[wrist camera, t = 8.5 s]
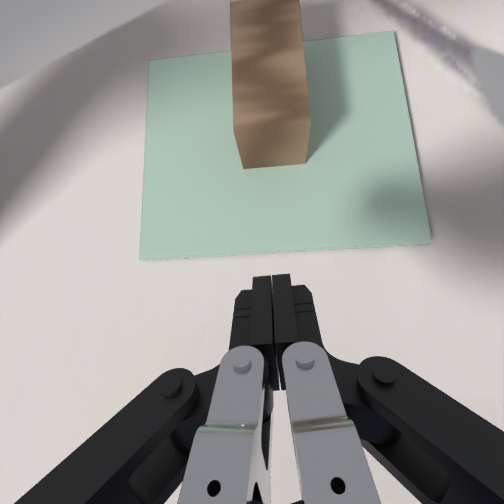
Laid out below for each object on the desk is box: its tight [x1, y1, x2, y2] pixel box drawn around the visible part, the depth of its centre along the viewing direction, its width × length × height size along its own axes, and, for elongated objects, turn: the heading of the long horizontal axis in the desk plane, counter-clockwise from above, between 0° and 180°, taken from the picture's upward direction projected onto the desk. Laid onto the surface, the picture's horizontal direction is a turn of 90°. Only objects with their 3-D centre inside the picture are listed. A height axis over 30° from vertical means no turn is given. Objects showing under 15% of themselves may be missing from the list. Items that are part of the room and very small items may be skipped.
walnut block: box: [230, 0, 311, 169], centre depth 23 cm, size 5×5×11 cm
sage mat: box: [139, 30, 432, 261], centre depth 25 cm, size 22×19×1 cm
